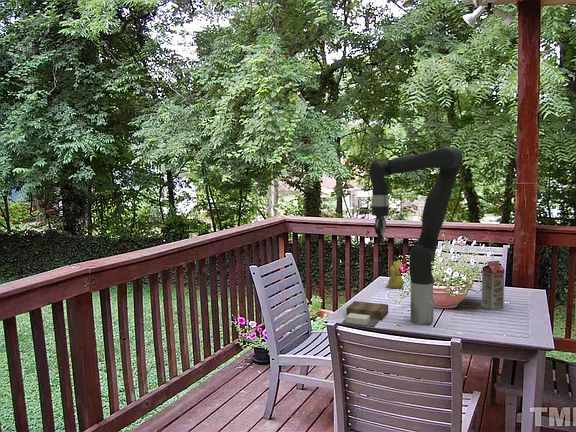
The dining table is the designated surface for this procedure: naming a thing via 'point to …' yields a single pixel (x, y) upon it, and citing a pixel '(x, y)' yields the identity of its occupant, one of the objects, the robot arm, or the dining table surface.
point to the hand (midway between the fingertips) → (380, 242)
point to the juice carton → (493, 286)
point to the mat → (370, 324)
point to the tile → (358, 319)
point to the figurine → (395, 276)
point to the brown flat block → (368, 309)
